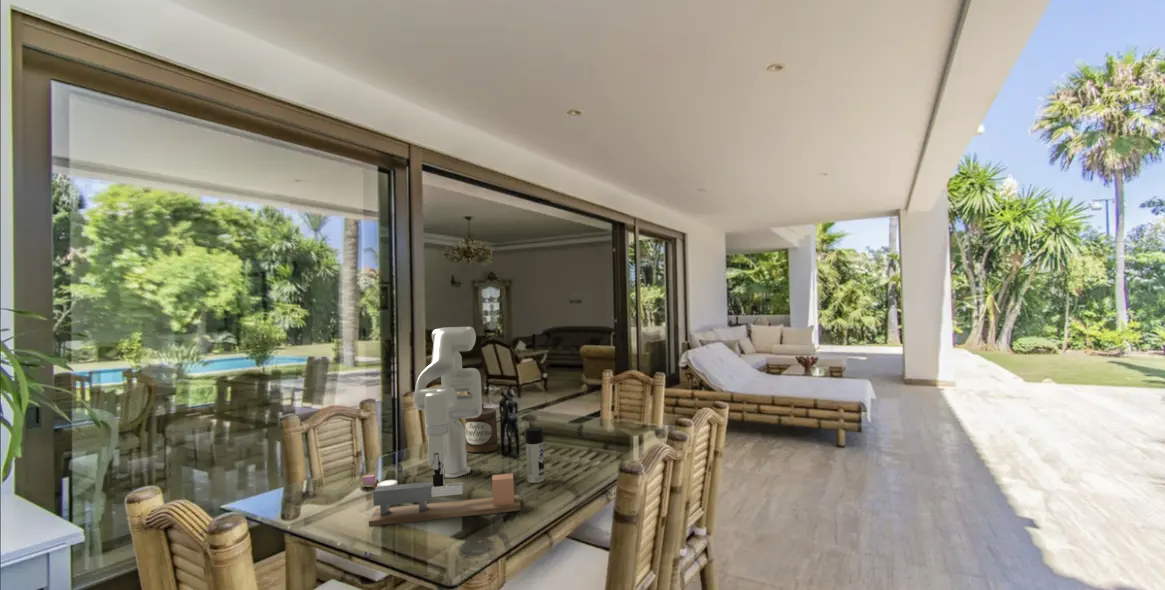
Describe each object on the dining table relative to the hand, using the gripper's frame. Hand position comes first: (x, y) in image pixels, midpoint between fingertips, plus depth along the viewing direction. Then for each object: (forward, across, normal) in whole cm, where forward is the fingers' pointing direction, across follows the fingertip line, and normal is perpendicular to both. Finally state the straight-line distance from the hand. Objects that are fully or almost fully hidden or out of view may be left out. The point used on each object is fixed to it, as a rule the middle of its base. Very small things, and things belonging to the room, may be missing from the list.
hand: (439, 483), depth 172 cm
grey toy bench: (+8, 0, -11) cm, 14 cm away
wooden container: (+10, -72, +12) cm, 74 cm away
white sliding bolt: (+4, 0, -6) cm, 7 cm away
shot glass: (+10, -14, -20) cm, 26 cm away
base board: (+10, 0, +2) cm, 10 cm away
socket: (+8, 0, +21) cm, 23 cm away
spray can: (+10, -22, +34) cm, 41 cm away
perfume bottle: (+10, -33, -28) cm, 44 cm away
